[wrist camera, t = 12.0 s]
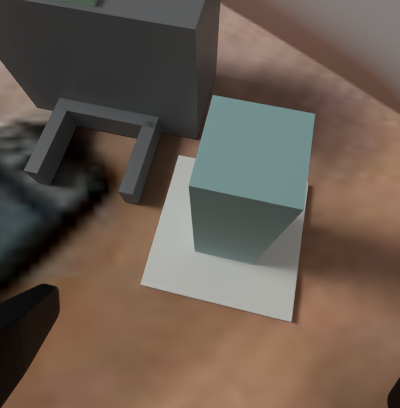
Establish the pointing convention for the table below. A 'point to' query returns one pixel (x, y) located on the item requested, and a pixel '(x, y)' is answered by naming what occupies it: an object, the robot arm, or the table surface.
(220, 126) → the key block
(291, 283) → the mat
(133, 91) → the charging dock
